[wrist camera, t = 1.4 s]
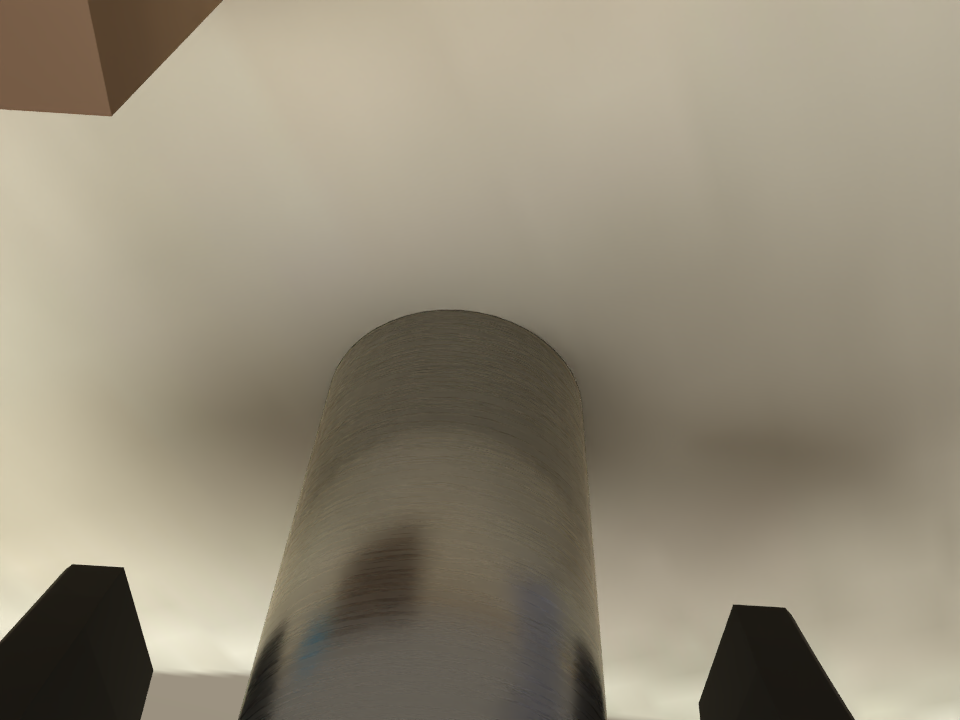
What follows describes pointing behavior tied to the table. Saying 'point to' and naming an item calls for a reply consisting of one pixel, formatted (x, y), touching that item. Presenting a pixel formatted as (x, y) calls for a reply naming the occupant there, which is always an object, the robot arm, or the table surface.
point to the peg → (439, 538)
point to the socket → (87, 50)
